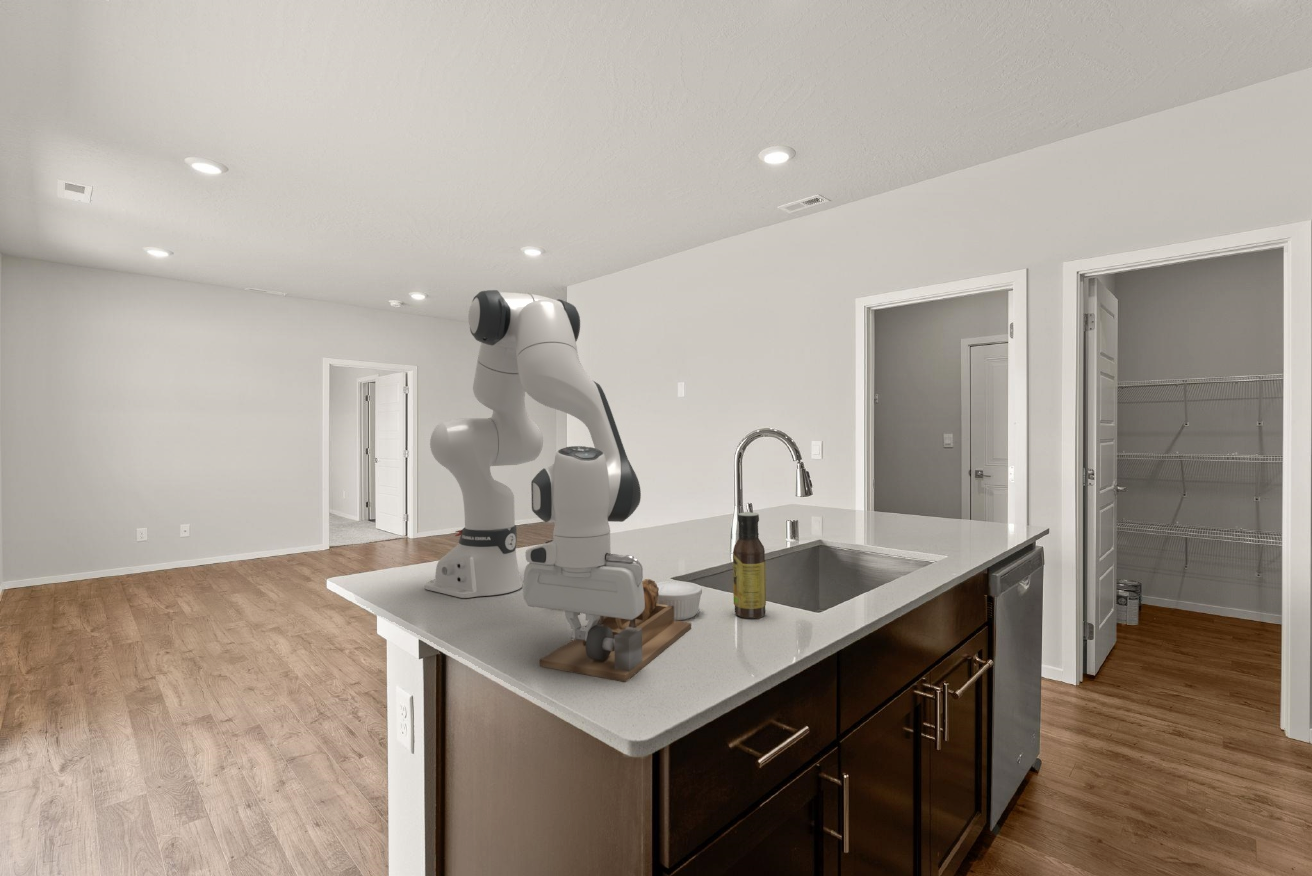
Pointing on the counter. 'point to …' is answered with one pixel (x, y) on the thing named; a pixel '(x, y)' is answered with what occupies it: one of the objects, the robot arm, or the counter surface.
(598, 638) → the wheel
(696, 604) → the ramekin
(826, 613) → the counter surface
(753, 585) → the sauce bottle
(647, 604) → the lion figurine
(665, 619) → the chassis
